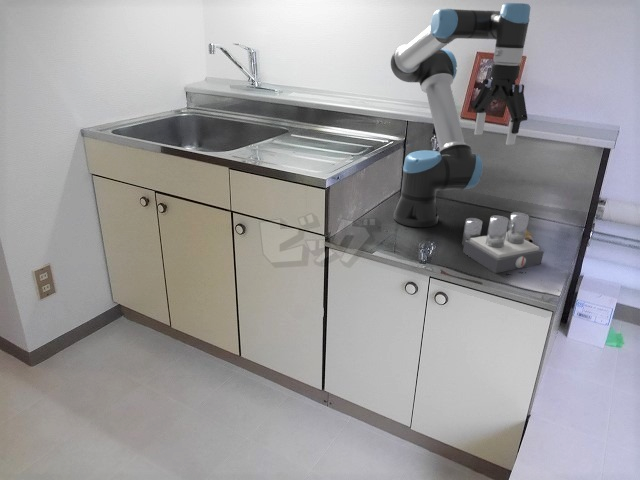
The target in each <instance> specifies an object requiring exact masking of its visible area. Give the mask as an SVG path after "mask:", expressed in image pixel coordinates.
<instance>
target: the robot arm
mask: <svg viewBox="0 0 640 480" xmlns="http://www.w3.org/2000/svg"><path fill="white" fill-rule="evenodd" d="M530 13H531V5H530V4H529V3H521V2H520V3H519V2H517V3H515V2H506V3H503V4H502V5H501V9H500V10H477V9H476V10H475V9H458V8H457V9H456V8H441V9H437V10H435V11H434V13H433V15H432V17H431V19H430V25H429V26H428V27H427V28H425V29H424V30H423V31H422V32H421V33H420V34H418V35H417V36H416V37H414V39H412V40H411V41H409V42H408V44H407V43H406V44H402V45H400V46H399V47H398V48H397V49H396V50H394V52H393V53H392V55H391V58H390V68H391V71H392V73H393V75H394V76H395V77H396V78H398V80H400V81H402V82H405V83H417V84H419V86H420V89H421V91H422V92H423V93H425V94H426V96H427V101H428V105H429V109H430V114H431V118H432V122H433V127H434V130H435V135H436V140H437V144H438V147H439V150H438V151H437V150H432V149H431V150H430V149H429V150H427V149H425V150H424V149H423V150H416V151H413V152H410V153H408V154H407V155H406V157H405V158H404V163H403V167H402V170H403V172H402V182H401V191H400V197H399V200H398V202H397V204H396V208H395V209H394V211H393V219H394V221H396V222H397V223H399V224H401V225H403V226H408V227H412V228H429V227H434V226H436V225H437V224H438V222H439V211H438V207H437V201H436V198H437V191H451V190H452V191H453V190H456V191H457V190H462V191H463V190H466V189H468V190H469V189H472V188H474V187H476V186H477V185H478V184H479V182H480V180H481V178H482V175H483V170H484V169H483V160H482V157H481V156H480V155H479V154H476V153H473V151H472V148H471V145H469V144H467V143H465V138H464V135H463V131H462V127H461V123H460V120H459V115H458V110H457V107H456V102H455V99H454V95H453V91H452V87H451V85H452V84H453V82H454V80H455V78H456V75H457V72H458V69H457V67H458V63H457V59H456V56H455V54H454V53H453V52H452V51H451V50H449V49H447V48H446V49H444V47H446V46H447V45H449V44H450V43H451V42H453V41H454V40H456V39H467V40H469V39H471V40H472V39H474V40H475V39H477V40H494V41H495V40H496V41H495V47H494V54H493V60H492V61H493V62H494V63H492V65H491V71H490V78H484V79H483V81H482V86H481V88H480V90H479V92H478V94H477V96H476V98H475V100H474V102H473V104H472V106H471V109H472V110H474V111H475V112H476V113H475V118H474V121H475V126H474V133H473V135H476V136H478V135H483V133H484V128H485V121H486V115H487V113H486V110H487V109H488V107H489V106H490V105H491V104H492V103H493V101H494V100H495V99H496V98H497V99H498V98H499V99H501V100H503V101H504V102H505V104H506V106H507V109H508V112H509V115H510V117H511V120H510V121H509V123H508V128H507V135H506V141H505V145H506V146H511V145H516V140H517V134H518V133H519V131H520V125H521V122H524V121H528V113H527V106H526V99H525V95H524V91H525V84H523V83H522V84H521V83H520V84H516V81H517V80H518V79H519V76H520V72H521V71H520V70H521V65H520V64H521V63H522V61H523V54H524V49H525V48H524V47H525V42H526V39H527V33H528V27H529V22H530V15H531V14H530Z"/></svg>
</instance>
